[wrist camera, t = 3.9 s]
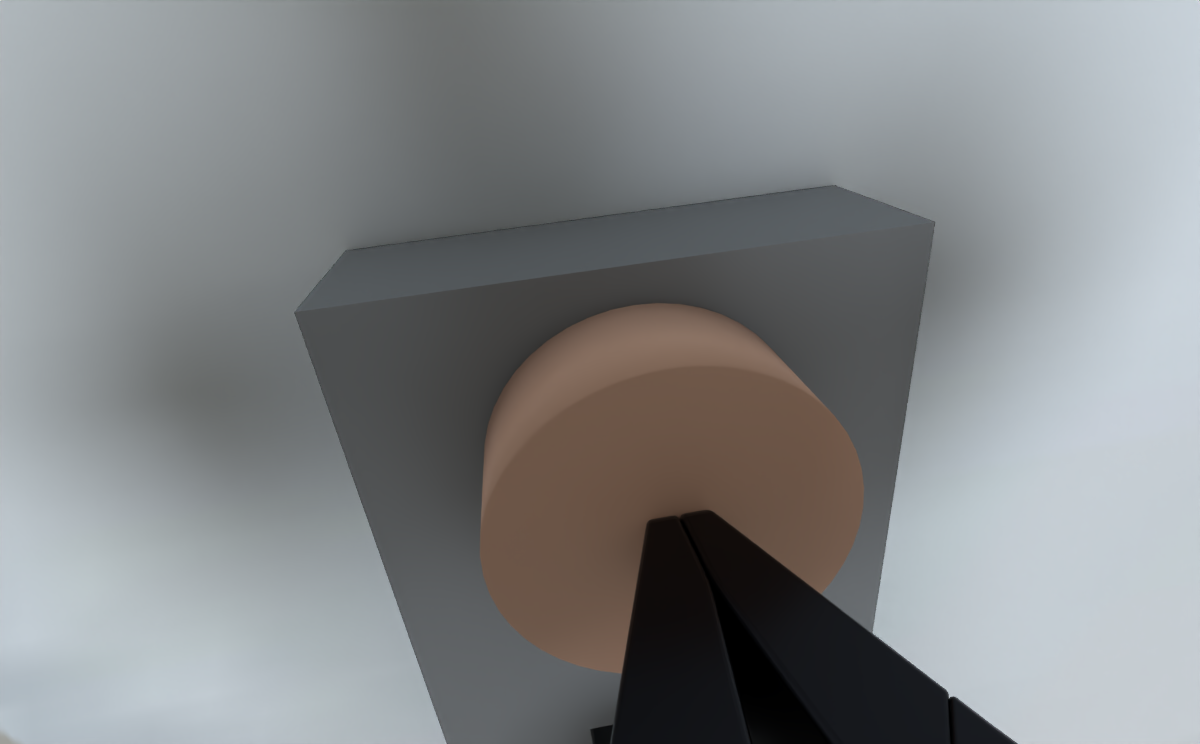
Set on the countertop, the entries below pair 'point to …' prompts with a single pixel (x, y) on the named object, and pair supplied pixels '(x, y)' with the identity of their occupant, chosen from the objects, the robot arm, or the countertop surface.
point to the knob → (651, 468)
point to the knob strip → (536, 314)
